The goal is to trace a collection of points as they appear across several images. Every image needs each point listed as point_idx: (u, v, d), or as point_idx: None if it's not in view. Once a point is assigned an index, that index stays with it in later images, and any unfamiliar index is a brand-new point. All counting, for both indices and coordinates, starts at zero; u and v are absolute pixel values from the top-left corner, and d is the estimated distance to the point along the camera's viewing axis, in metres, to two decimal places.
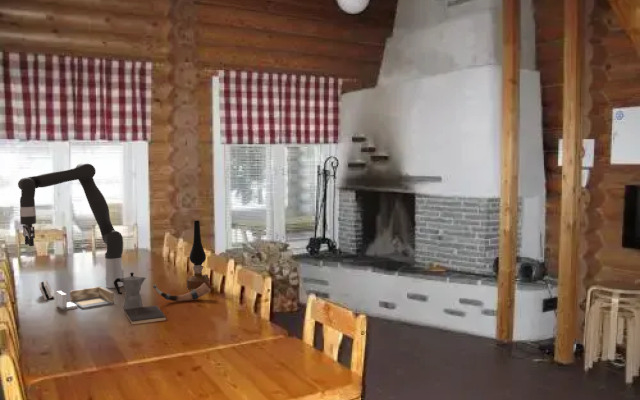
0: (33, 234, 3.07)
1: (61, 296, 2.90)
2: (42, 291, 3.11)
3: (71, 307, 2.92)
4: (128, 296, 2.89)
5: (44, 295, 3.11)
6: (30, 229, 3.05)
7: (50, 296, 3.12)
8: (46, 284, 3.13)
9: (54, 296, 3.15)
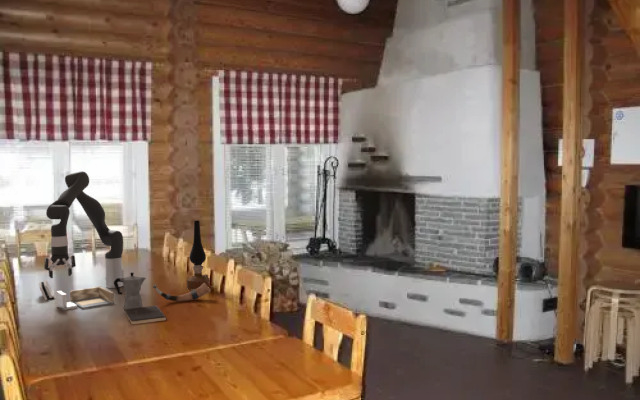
0: None
1: (61, 296, 2.90)
2: (42, 291, 3.11)
3: (71, 307, 2.92)
4: (128, 296, 2.89)
5: (44, 295, 3.11)
6: None
7: (50, 296, 3.12)
8: (46, 284, 3.13)
9: (54, 296, 3.15)
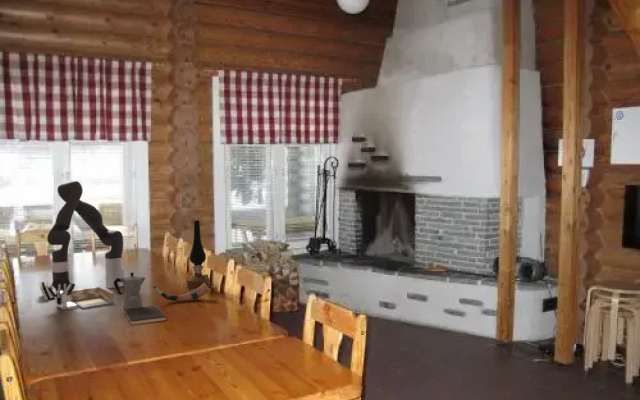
0: None
1: (61, 296, 2.90)
2: (43, 291, 3.11)
3: (71, 307, 2.92)
4: (128, 296, 2.89)
5: (45, 295, 3.11)
6: None
7: (51, 296, 3.12)
8: (47, 284, 3.13)
9: None
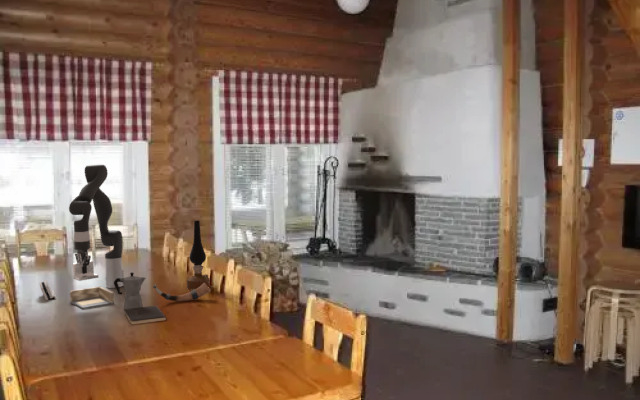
0: (88, 262, 2.97)
1: None
2: (43, 291, 3.10)
3: (76, 278, 2.94)
4: (128, 296, 2.89)
5: (45, 295, 3.11)
6: (86, 258, 2.94)
7: (51, 296, 3.12)
8: (47, 284, 3.13)
9: (55, 296, 3.15)
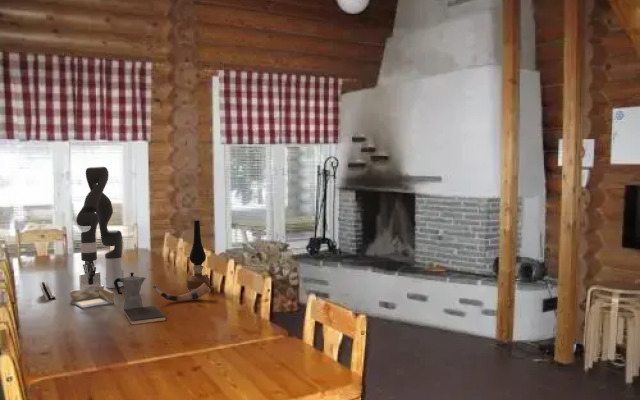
0: (93, 273, 2.98)
1: None
2: (43, 291, 3.10)
3: (82, 289, 2.95)
4: (128, 296, 2.89)
5: (45, 295, 3.11)
6: (92, 270, 2.95)
7: (51, 296, 3.12)
8: (47, 284, 3.13)
9: (55, 296, 3.15)
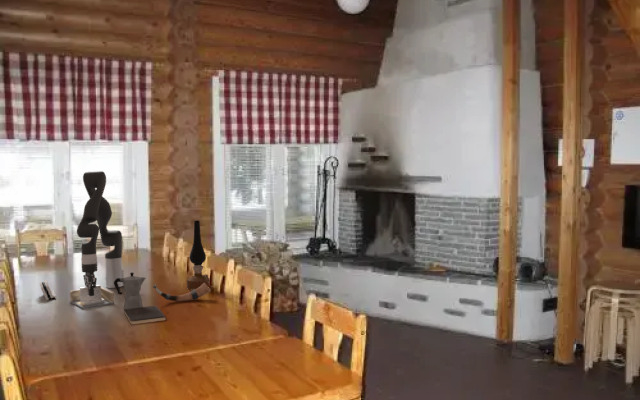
0: (94, 284, 2.98)
1: None
2: (44, 291, 3.10)
3: (82, 302, 2.96)
4: (128, 296, 2.89)
5: (46, 295, 3.10)
6: (92, 281, 2.95)
7: (52, 296, 3.12)
8: (47, 284, 3.13)
9: (55, 296, 3.15)
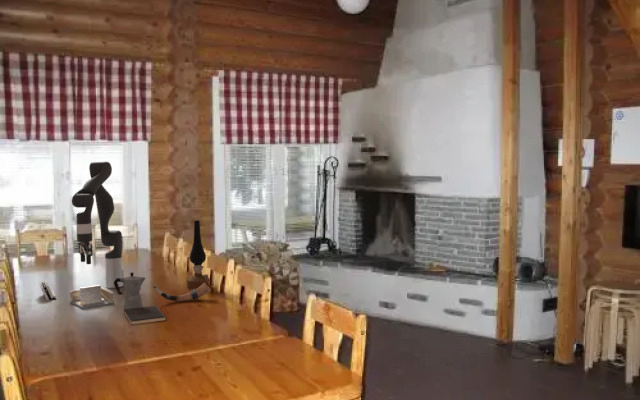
0: (91, 252, 2.98)
1: None
2: (44, 291, 3.10)
3: (82, 302, 2.96)
4: (128, 296, 2.89)
5: (46, 295, 3.10)
6: (88, 247, 2.96)
7: (52, 296, 3.12)
8: (47, 284, 3.13)
9: (55, 296, 3.15)
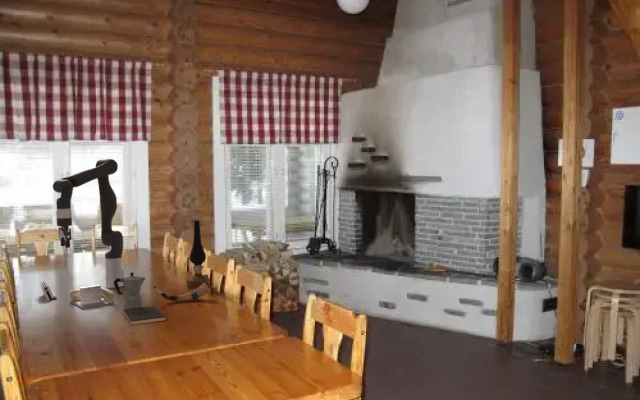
0: (70, 236, 3.07)
1: None
2: (44, 291, 3.10)
3: (82, 302, 2.96)
4: (128, 296, 2.89)
5: (46, 295, 3.10)
6: (67, 231, 3.06)
7: (52, 296, 3.12)
8: None
9: None
